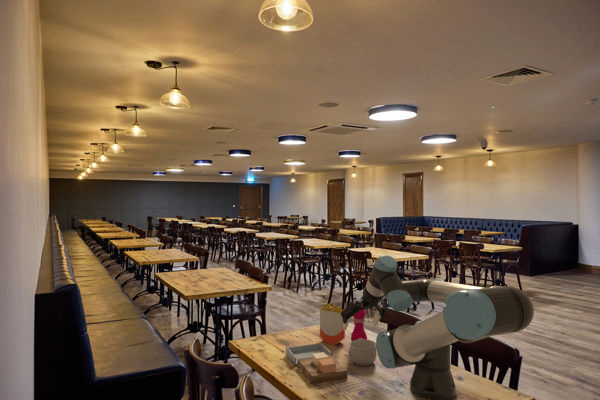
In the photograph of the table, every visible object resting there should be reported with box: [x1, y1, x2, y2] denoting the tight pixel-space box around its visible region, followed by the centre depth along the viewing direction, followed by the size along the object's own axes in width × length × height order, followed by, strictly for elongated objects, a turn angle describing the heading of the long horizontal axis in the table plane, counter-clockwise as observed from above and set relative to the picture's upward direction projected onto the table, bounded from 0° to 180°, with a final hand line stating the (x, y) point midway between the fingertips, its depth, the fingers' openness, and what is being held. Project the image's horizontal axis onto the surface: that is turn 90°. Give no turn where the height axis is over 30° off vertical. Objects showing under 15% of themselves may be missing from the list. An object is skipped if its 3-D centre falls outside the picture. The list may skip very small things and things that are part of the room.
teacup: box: [348, 338, 377, 367], centre depth 164 cm, size 14×11×8 cm
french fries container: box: [319, 302, 346, 346], centre depth 186 cm, size 5×11×18 cm, turn 58°
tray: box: [285, 342, 333, 367], centre depth 168 cm, size 12×16×4 cm
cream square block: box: [312, 352, 329, 366], centre depth 155 cm, size 5×5×3 cm
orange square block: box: [318, 358, 336, 374], centre depth 149 cm, size 5×5×3 cm
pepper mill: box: [350, 308, 368, 342], centre depth 178 cm, size 7×7×20 cm
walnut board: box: [297, 355, 348, 385], centre depth 154 cm, size 16×14×3 cm
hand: (359, 325), depth 163 cm, fingers open, 13 cm apart
